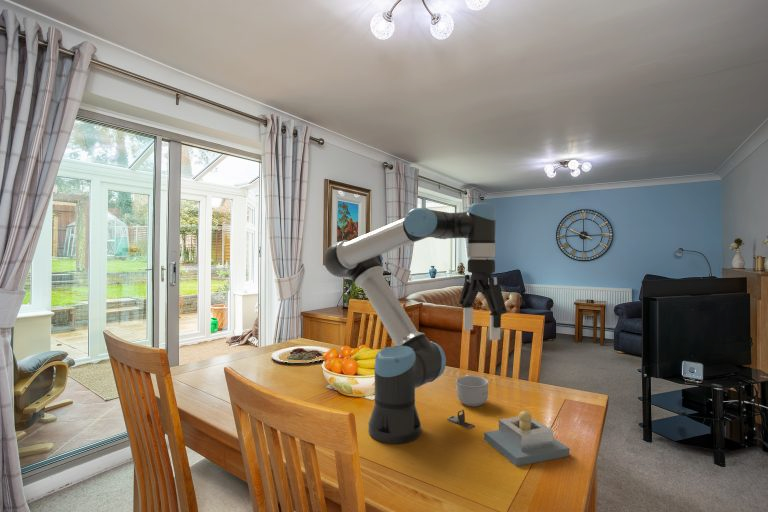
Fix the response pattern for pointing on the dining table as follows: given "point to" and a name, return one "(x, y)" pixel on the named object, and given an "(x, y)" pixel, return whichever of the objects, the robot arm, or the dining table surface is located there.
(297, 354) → the plated food
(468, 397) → the teacup
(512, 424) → the grey square ring block
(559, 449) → the keeper
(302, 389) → the dining table surface
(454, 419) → the strap clip
